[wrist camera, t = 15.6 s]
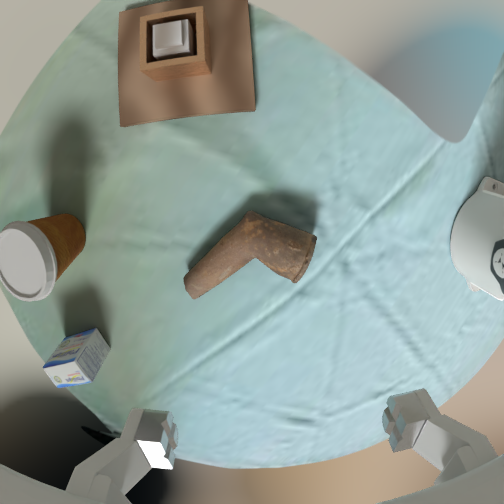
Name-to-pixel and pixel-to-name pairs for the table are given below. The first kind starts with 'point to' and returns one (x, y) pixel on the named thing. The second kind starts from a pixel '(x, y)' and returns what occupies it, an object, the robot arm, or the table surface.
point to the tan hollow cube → (175, 66)
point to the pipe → (253, 253)
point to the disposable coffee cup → (38, 254)
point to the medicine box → (77, 359)
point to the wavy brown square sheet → (183, 45)
